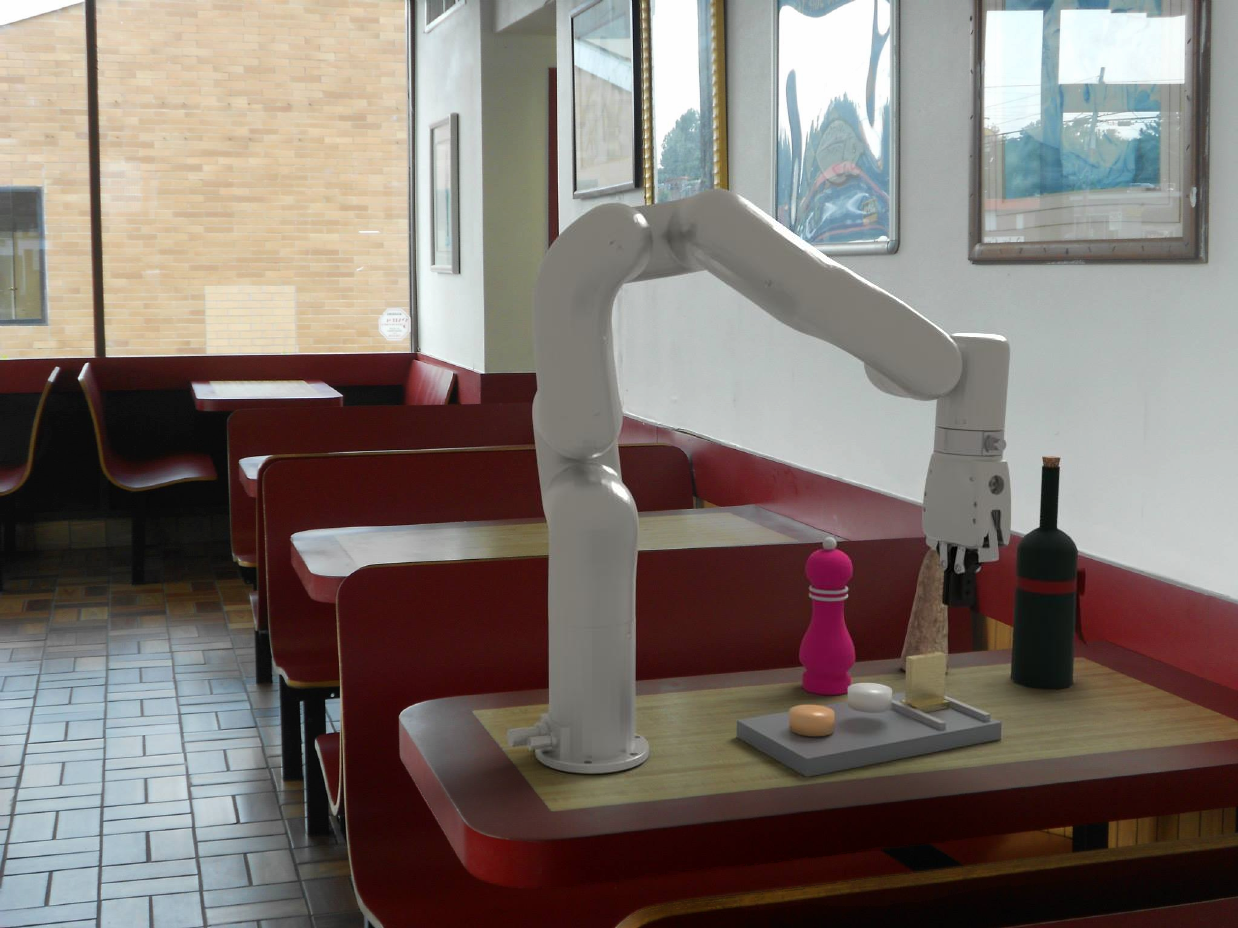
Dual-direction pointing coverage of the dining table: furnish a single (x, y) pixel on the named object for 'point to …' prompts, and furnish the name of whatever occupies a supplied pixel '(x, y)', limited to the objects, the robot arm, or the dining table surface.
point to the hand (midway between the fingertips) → (957, 604)
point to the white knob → (869, 697)
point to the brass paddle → (926, 682)
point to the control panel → (869, 735)
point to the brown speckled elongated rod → (928, 613)
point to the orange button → (811, 720)
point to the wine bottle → (1047, 596)
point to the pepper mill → (827, 623)
